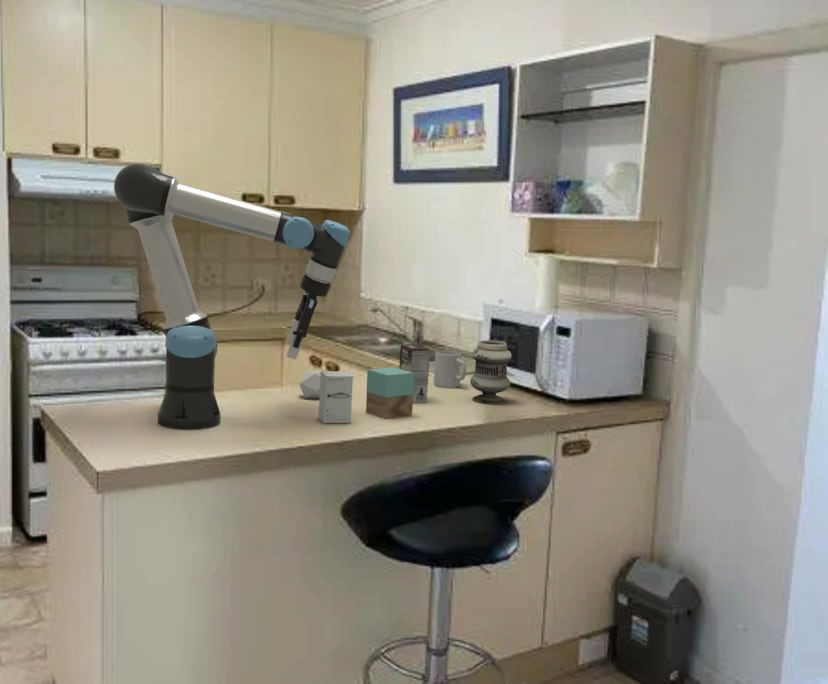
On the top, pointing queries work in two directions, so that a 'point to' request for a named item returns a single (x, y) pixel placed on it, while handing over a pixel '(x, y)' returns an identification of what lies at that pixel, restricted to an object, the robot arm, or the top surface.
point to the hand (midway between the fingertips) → (290, 350)
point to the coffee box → (416, 368)
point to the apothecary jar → (490, 371)
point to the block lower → (389, 406)
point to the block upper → (390, 382)
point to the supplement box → (335, 397)
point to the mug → (448, 369)
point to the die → (311, 384)
